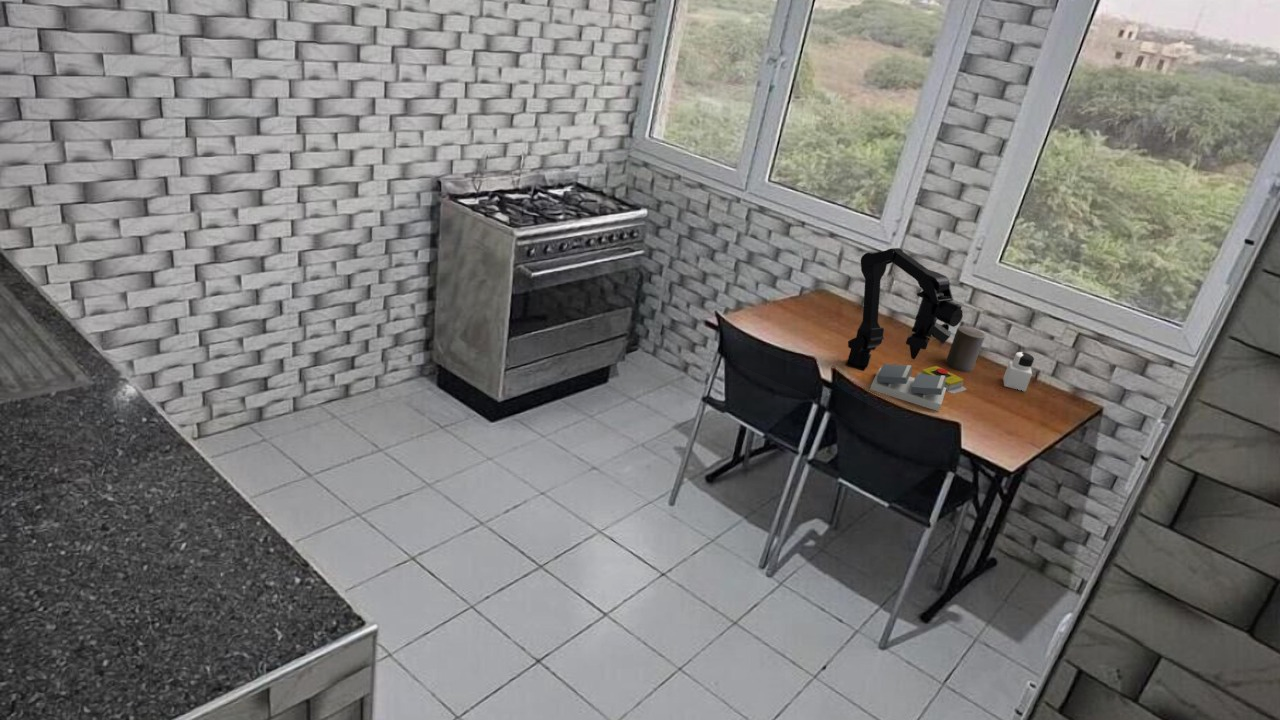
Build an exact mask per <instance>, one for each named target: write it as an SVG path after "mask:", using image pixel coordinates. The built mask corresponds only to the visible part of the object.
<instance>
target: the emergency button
mask: <svg viewBox="0 0 1280 720" xmlns="http://www.w3.org/2000/svg"><path fill="white" fill-rule="evenodd" d="M918 374H921V375H937V376H941V375H942V376H946V382H945V385H944V387H945V388H946V391H945V392H948V393H949V394H953V395H954V394H958V393H961V392H964V391H967V389H968V388H966V387H965V386H963V382H964V379H963V378H962V377H959V376H958V375H955V374H954V373H952V372H951V371H950V372H949V371H947V370H946V369H944V368H942V367H939V366H937V365H935V366H930V367H927V368H924V369H922V370H921V372H919V373H918Z"/></svg>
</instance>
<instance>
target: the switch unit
mask: <svg viewBox="0 0 1280 720" xmlns="http://www.w3.org/2000/svg"><path fill="white" fill-rule="evenodd" d="M881 368H882V367H879V369H878V371H877V373H876V374H875V377H874V379H873V380H872V382H871V386H870V388H869V390H870V391H873V392H876V393H880V394H882V395H886V396H889V397H892V398H896V399H898V400H902V401H904V402H908V403H912V404H915V405H917V406H921V407H924V408H926V409H930V410H932V411H937V412H939V411H940V409H941V406H942V403H943V401H944V397H945V394H946V392H947V391H946V388H945V387H944V388H943V391H942V394H941V395H935V394H922V393H911V387H912V384H913V382H914V380H915V377H912V376H910V377H909V379H908V381H907V383H906V384H899V383H885V382H877V376H878V374H879V372H880V370H881Z"/></svg>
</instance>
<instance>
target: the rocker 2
mask: <svg viewBox="0 0 1280 720" xmlns="http://www.w3.org/2000/svg"><path fill="white" fill-rule="evenodd" d="M914 378H915V380H914V382H913V384H912V387H911V393H922V394H935V395H941V394H942V391H943V388H944V385H945V382H946V376H942V375H941V376H937V375H921V374H919V373H917V374H916V375H915V377H914Z"/></svg>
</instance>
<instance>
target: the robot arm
mask: <svg viewBox="0 0 1280 720" xmlns="http://www.w3.org/2000/svg"><path fill="white" fill-rule="evenodd" d="M890 264H894V265H895V266H896V267H898V268H899V269H901V270H902V271H903V272H905V273H906V274H907V275H909V276H910V277H911V278H912V279H914V280H915V281H916V282H917V283H918V285H919V288H921V290H922V291H920V292H917V293H916V296H918V297H919V298H921V301H920V304H919V307H918V310H917V311H918V312H917V314H916V316H915V320H914V324H913V326H912V329H911V333H910V334H909V335H908V336H907V338H906V342H905V344H906V345H908V346H909V350H910V351H909V352H910V357H911V360H916V358H917V356H918V355H919V352H920V351H921V350H927V348H928V345H929V342H930V340H931V339H930V338H931V337H933V338H935V339H936V340H937V341H939V343H941V344H943V345H944V344H945V343H946V342H947V341H948V340H949V338H950V337H951V335H952V333H951V330H949V329H950V326H951V327H953V328H955V327H956V326H958V325H959V324H960V323H961V321H962V320H963V317H964V315H963V310H962V307H963V306H962V305H961V304H959V303H955V302H953V300H954V297H953V295H952V294H953V293H952V290H951V286H950V284H951V283H950V279H949V278H948V276H946V275H945V274H942V273H940V272H936V271H934V270H930V269H928V268H927V267H925V266H924V265H923V264H921V263H919V261H917V260H915V258H912V256H910V255H909V254H907V253H906V252H905V251H904V250H903V249H901V248H900V247H894V248H888V249H886V250H882V251H876V252H873V251H872V252H866V253H864V254H863V255H862V256H861V257H860V268H861V269H860V270H861V273H862V275H863V277H864V292H863V294H864V295H863V296H864V297H863V307H862V309H863V310H862V321H861V324H860V325H859V327H858V329H857V332H856V337H854V338H852V339H850V340H848V341H847V345H848V346H847V348H849V349H850V352H849V354H848V358H847V361H846V362H845V365H846V366H849V367H852V368H855V369H858V370H861V371H865V370H866V368H868V366H869V364H870V361H871V358H872V354H871V352H872V351H874V350H876V348H877V347H880V345H882V342H883V340H884V331H885V329H884V327H881V326H880V324H879V309H880V306H879V305H880V293H881V292H880V291H881V280H882V278H883V276H884V274H885V273H886V269H887V265H890ZM937 320H938V321H940V322H942V323H943V324H941V323H940V324H939V323H938V322H937Z"/></svg>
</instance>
